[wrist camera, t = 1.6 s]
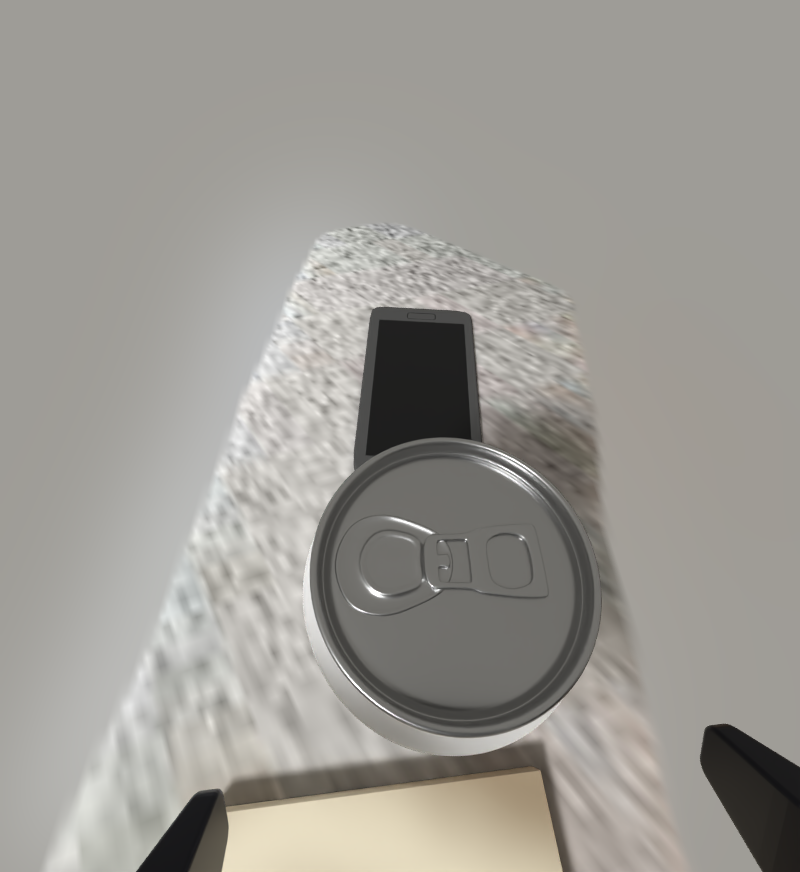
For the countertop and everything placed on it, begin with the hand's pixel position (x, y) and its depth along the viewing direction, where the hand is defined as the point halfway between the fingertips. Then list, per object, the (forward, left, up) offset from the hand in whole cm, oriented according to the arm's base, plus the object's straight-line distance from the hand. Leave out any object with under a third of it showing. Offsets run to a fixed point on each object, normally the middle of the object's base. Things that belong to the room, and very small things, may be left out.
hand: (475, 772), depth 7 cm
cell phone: (+18, -2, -11) cm, 21 cm away
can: (+3, 0, -11) cm, 11 cm away
